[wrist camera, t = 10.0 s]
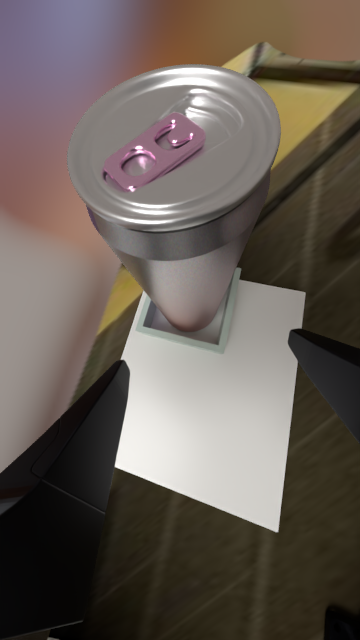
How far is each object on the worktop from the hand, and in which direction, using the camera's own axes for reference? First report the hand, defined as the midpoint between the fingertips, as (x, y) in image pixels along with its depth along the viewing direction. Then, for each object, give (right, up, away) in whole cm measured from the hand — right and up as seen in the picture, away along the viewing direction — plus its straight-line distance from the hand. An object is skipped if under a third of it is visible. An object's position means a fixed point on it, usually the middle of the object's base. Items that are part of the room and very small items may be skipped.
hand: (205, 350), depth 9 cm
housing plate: (+1, -4, +9) cm, 10 cm away
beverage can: (0, +3, +10) cm, 11 cm away
